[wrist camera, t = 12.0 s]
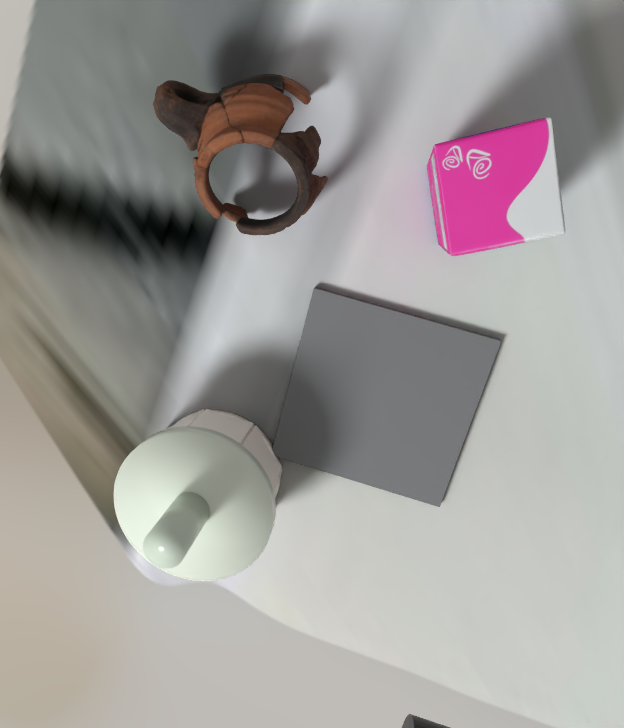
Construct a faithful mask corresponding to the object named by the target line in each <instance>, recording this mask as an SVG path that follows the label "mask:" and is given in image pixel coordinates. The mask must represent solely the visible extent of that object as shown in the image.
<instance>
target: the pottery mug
mask: <svg viewBox="0 0 624 728" xmlns="http://www.w3.org/2000/svg"><path fill="white" fill-rule="evenodd" d="M284 90H286V91H288V92H289V93H291V94H292V95H294V96H295V97H297V98H298V99H299V100H300V101H302V102H303V103H304V104H308V103H309V102H310V100H311V97H310V93H309V92H308V90H306V89H305V88H304V87H303V86H302V85H300V84H299V83H297V82H295V81H294V80H291V79H289V78H287V77H283V76H281V75H275V74H264V75H258V76H255V77H252V78H250V79H248V80H245V81H241V82H238V83H235V84H233V85H230V86H228V87H224V88H222V89H221V91H219V93H206V92H201V91H199V90H197V89H195V88H193V87H191V86H189V85H187V84H184V83H181V82H177V81H166V82H165V83H163V84H162V85H160V86H158V87H157V90H156V93H155V100H154V102H153V105H154V109H155V113H156V115H157V117H158V119H159V120H160V121H161V122H162V123H163V124H164V125H165V126H166V127H167V128H168V129H170V130H171V131H173V132H175V133H176V134H178V135H179V136H181V137H182V138H183V139H184V141H185V142H186V144H187V146H188V148H189V150H191V151H194V150H196V149H197V151H198V157H194V158H193V163H194V169H195V183H196V188H197V193H198V195H199V197H200V199H201V201H202V203H203V205H204V207H205V208H206V209H207V210H208V211H209V212H210V214H212V215H213V216H214V217H215V218H216V219H219V218H220V217H221V215H222V214H223V215H224V216H225V217H227V218H228V219H230V220H232V221H234V222H237V223H236V226H237V228H238V230H239V231H240V232H241V233H244V234H249V235H269V234H275V233H277V232H280V231H282V230H284V229H285V228H286V227H289V226H291V225H292V224H294V223H295V222H296V221H297V220H298V219H299V218H300V217H301V215H304V214H305V213H306V212H307V211H308V210H309V209H310V207H311V206H312V204H313V203H314V201H315V199H316V198H317V196H318V195H319V193H320V192H321V190H322V189H323V187H324V185H325V183H326V181H327V179H328V178H327V177H326V176H323V177H319V176H316V175H313V174H311V173H312V171H313V169H314V168H315V167H316V165H317V162H318V159H319V146H320V144H321V139H320V136H319V134H318V132H317V130H316V128H315V127H314V126H310V127H309V128H307V130H306V131H305V132H304V131H298V132H294V133H281V130H282V128H283V126H284V124H285V122H286V120H287V119H288V117H289V116H290V114H292V112H293V110H294V107H293V103H292V101H291V99H290V98H289V97H287V96H285V95H283V92H284ZM240 143H253V144H258V145H262V146H265V147H267V148H270V149H274V150H275V151H276V152H277V153H278V154H280V155H281V156H282V157H283V158H284V159H285V160H286V161H287V162H288V163H289V165H290V166H291V168H292V170H293V171H294V173H295V176H296V179H297V183H298V194H297V197H296V200H295V202H294V204H293V205H292V206H291V208H290V209H289V210H288V211H286V212H285V213H283V214H282V215H279V216H277V217H274V218H271V219H264V220H256V219H249V218H248V215H247V213H246V211H245V209H243V208H242V207H239V206H236V205H233V204H230V203H224V204H222V203H221V202H220V201H219V200H218V199H217V197H216V196H215V194H214V193H213V191H212V188H211V186H210V183H209V168H210V164H211V162H212V160H213V158H214V157H215V156H216V155H217V154H218V153H219V152H220V151H222V150H223V149H225V148H227V147H229V146H231V145H235V144H240Z"/></svg>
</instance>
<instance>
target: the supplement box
mask: <svg viewBox="0 0 624 728" xmlns="http://www.w3.org/2000/svg"><path fill="white" fill-rule="evenodd" d="M427 171H428V178H429V185H430V192H431V199H432V205H433V212H434V218H435V225H436V231H437V237H438V243H439V245H440V246H441V247H442V248H443V249H444V250H445V251H447V253H448V254H449V255H451V256H458V255H464V254H469V253H475V252H480V251H485V250H490V249H495V248H500V247H505V246H510V245H515V244H520V243H525V242H529V241H534V240H539V239H544V238H549V237H554V236H558V235H562V234H564V233H565V223H564V215H563V207H562V199H561V191H560V183H559V175H558V167H557V159H556V152H555V144H554V135H553V127H552V118H551V117H548V118H542V119H538V120H533V121H529V122H525V123H521V124H517V125H513V126H509V127H505V128H500V129H496V130H492V131H488V132H484V133H480V134H476V135H471V136H467V137H463V138H459V139H455V140H451V141H447V142H443V143H439V144H435V145H434V147H433V150H432V153H431V156H430V159H429V162H428V165H427Z"/></svg>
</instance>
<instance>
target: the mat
mask: <svg viewBox="0 0 624 728" xmlns="http://www.w3.org/2000/svg"><path fill="white" fill-rule="evenodd" d="M500 343H501V340H499V339H495V338H492V337H488V336H485V335H481V334H478V333H474V332H471V331H467V330H464V329H460V328H457V327H453V326H450V325H446V324H442V323H439V322H435V321H432V320H428V319H425V318H421V317H418V316H414V315H411V314H407V313H404V312H400V311H397V310H393V309H390V308H386V307H382V306H379V305H375V304H372V303H368V302H365V301H361V300H358V299H354V298H351V297H347V296H344V295H340V294H337V293H333V292H330V291H326V290H322V289H319V288H314V290H313V294H312V298H311V301H310V305H309V309H308V313H307V317H306V321H305V325H304V329H303V332H302V336H301V340H300V344H299V348H298V352H297V356H296V360H295V363H294V367H293V371H292V375H291V379H290V383H289V387H288V391H287V394H286V398H285V402H284V406H283V410H282V414H281V418H280V421H279V425H278V429H277V433H276V437H275V441H274V445H273V449H272V451H273V452H274V455H275V456H276V457H279V458H282V459H286V460H289V461H292V462H295V463H299V464H302V465H305V466H308V467H312V468H315V469H318V470H321V471H324V472H328V473H331V474H334V475H337V476H341V477H344V478H347V479H350V480H354V481H357V482H360V483H363V484H367V485H370V486H373V487H376V488H379V489H383V490H386V491H389V492H392V493H396V494H399V495H402V496H405V497H409V498H412V499H415V500H418V501H421V502H425V503H428V504H431V505H434V506H438V507H440V505H441V502H442V499H443V496H444V494H445V491H446V488H447V486H448V483H449V480H450V478H451V475H452V472H453V470H454V467H455V464H456V462H457V459H458V456H459V453H460V451H461V448H462V445H463V443H464V440H465V437H466V435H467V432H468V429H469V427H470V424H471V421H472V418H473V416H474V413H475V410H476V408H477V405H478V402H479V400H480V397H481V394H482V392H483V389H484V386H485V384H486V381H487V378H488V375H489V373H490V370H491V367H492V365H493V362H494V359H495V357H496V354H497V351H498V349H499V346H500Z"/></svg>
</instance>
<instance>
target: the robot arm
mask: <svg viewBox="0 0 624 728" xmlns="http://www.w3.org/2000/svg"><path fill="white" fill-rule="evenodd" d="M402 728H449V727H446V726H444V725H441V724H437V723H435V722H432V721H429V720H426V719H423V718H420V717H417V716H414V715H411V714H409V715H408V716H407V717H406V719H405V721H404V724H403V726H402Z"/></svg>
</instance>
